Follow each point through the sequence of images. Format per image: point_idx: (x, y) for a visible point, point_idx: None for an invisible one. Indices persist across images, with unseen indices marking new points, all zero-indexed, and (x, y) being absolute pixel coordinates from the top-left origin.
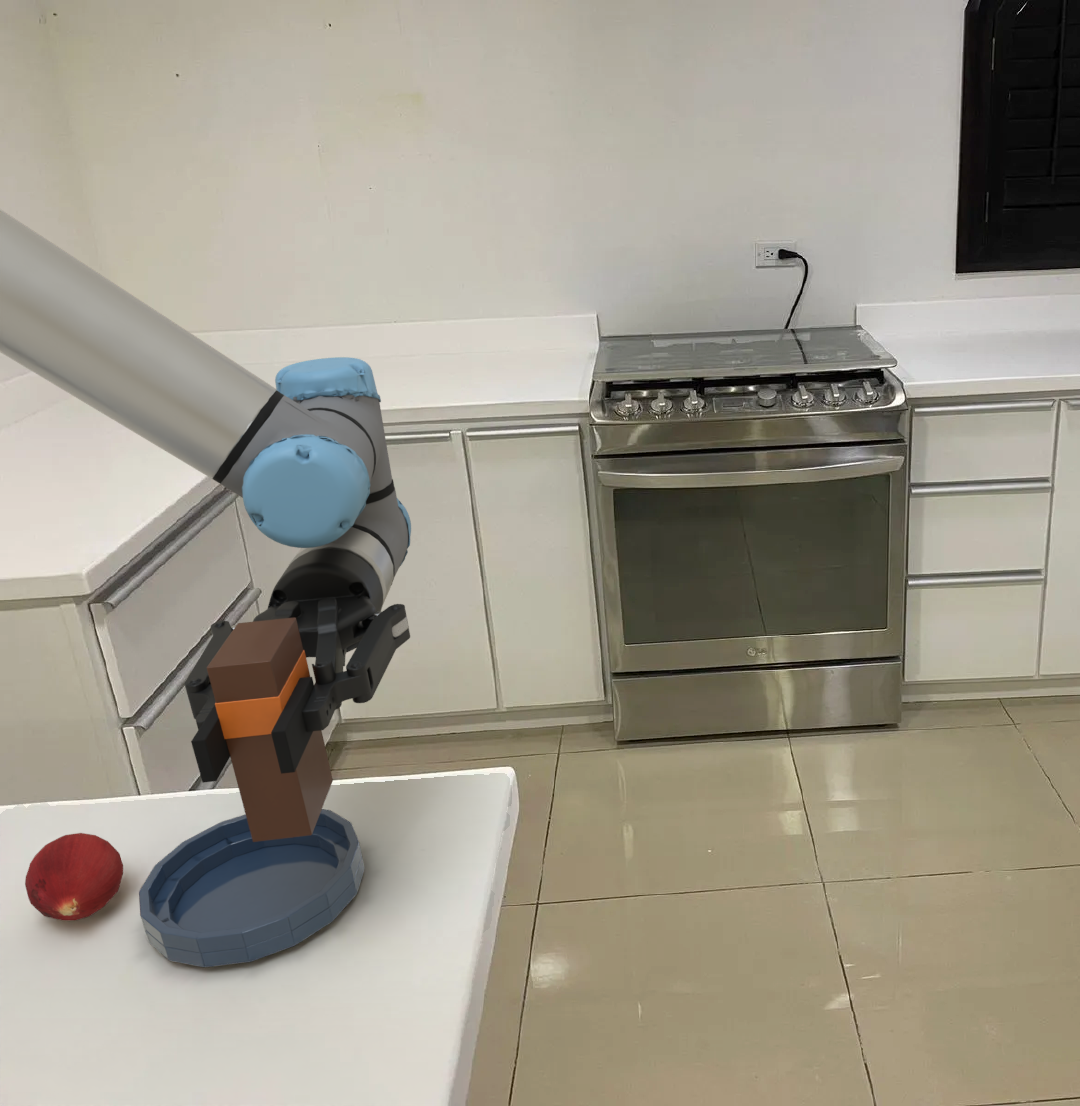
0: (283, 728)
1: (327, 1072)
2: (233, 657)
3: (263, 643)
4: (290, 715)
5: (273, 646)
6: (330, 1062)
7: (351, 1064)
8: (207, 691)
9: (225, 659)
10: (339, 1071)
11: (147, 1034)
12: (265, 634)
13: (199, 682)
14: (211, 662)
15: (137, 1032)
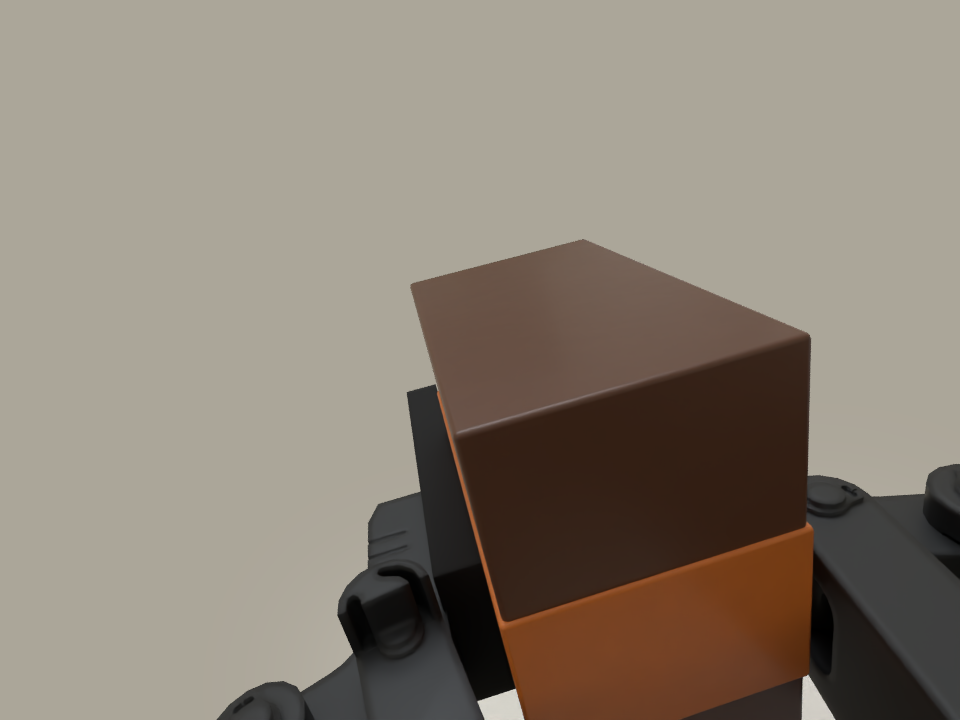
0: (414, 396)
1: (508, 696)
2: (541, 264)
3: (487, 304)
4: (416, 422)
5: (434, 304)
6: (511, 710)
7: (484, 711)
8: (892, 514)
9: (559, 256)
10: (494, 700)
11: (803, 716)
12: (526, 327)
13: (941, 486)
14: (590, 244)
15: (823, 717)
